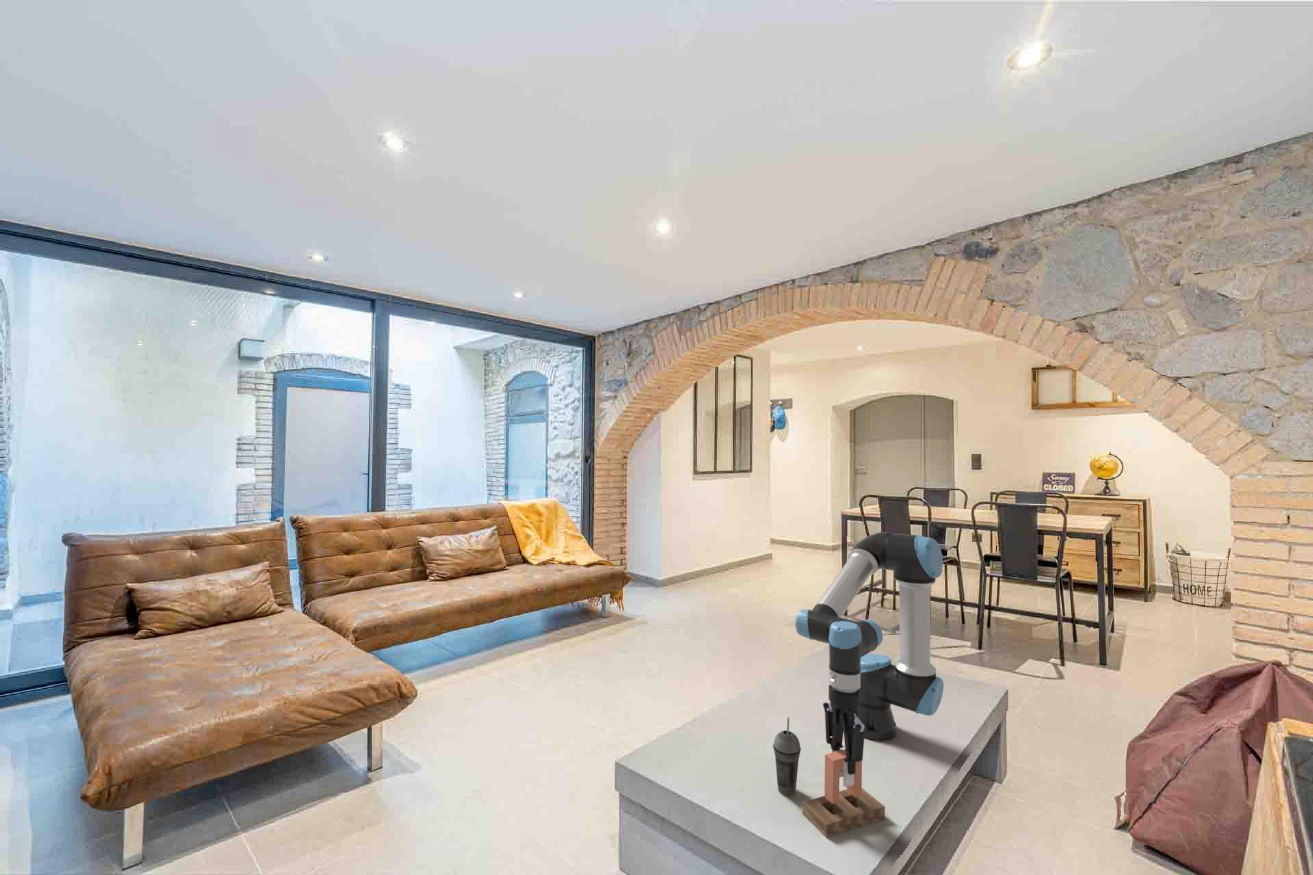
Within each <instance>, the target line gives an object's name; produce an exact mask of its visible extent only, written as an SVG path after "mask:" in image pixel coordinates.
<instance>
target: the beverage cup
mask: <svg viewBox="0 0 1313 875" xmlns="http://www.w3.org/2000/svg"><path fill="white" fill-rule="evenodd" d="M786 723H787V724H786V730H782V731H779V732H778V733H777V734H776V735H775V737H774V739H773V746H772V747H773V752H774V756H775V759H774V760H775V769H776V770H775V771H776V772H775V773H776V784H777V789H778V790H777V791H778V792H779V793H780V794H781V795H783V796H787V797H788V796H793V795H795V794H796V789H797V781H798V769H799V760H800V755H801V750H802V748H801V744H800V740H799V737H797V735H796V733H794V732H792V731H790V717H787V720H786Z"/></svg>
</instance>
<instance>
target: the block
mask: <svg viewBox="0 0 1313 875" xmlns="http://www.w3.org/2000/svg"><path fill="white" fill-rule="evenodd" d="M840 750H841V749H840ZM844 758H846V752H845V749H842V750H841V751H837V752H833V753H832V752H830V753H826V754H824V796H825V798H826V799H827V800H829V801H830V802H831V803H832V804H834V803H838V802H839V791H840V778H839V770H840V769H843V768H844ZM862 769H863V760H862V761H859V762H856V772H855V774H854V785H852V786H848V787H846V789H847V791H848V792H849V793H851V794H852V795H853V796H854V797H859V796H862V788H863V783H862V782H863V781H862V780H863V778H862V777H863V776H862V774H863V773H862V772H863V770H862Z"/></svg>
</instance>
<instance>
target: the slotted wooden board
mask: <svg viewBox="0 0 1313 875" xmlns="http://www.w3.org/2000/svg"><path fill="white" fill-rule="evenodd" d="M802 815H803V816H804V817H805V818H806V819H807V820H808V821H809V822H810V823H811V824H812V825H813V826H814V827H815V828H816V829H817V830H818V831H819V832H820V833H821V834H822V835H823V836H824V837H825V838H829V837H832V836H837V835H838V834H842V833H844V832H848V831H850V830H854V829H858V828H859V827H863V826H867V825H870V824H872V823H876V822H878V821H882V820H884V819H886V806H885V805H884V804H882V803H881V802H880V801H879V800H877V799H876V798H875V797H874V796H873V795H871V794H870V793H869V792H868V791H866V789H863V787H862V796H859V797H854V796H853V795H852V794H851V793H849V792H848V791H847V788H846V789H844V790H839V802H838V803H834V804H832V803H831V802H830V801H829V800H827V799H826V798H825V795H823V796H822V795H821V796H819V797H816V798H812V799H809V800H806V801H802Z"/></svg>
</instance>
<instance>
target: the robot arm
mask: <svg viewBox="0 0 1313 875" xmlns="http://www.w3.org/2000/svg"><path fill="white" fill-rule="evenodd" d="M942 552H943V551H942V549H941V547H940V545H939V543H938V542H937V541H936V540H935V539H934V538H932V537H927V536H921V535H918V534H917V535H916V534H908V533H907V534H906V533H897V532H890V531H889V532H888V531H880V532H876V533H874V534H871V535H868V536H867V537H864V538H863V539H861V540H860V541H859V542H857V543H856V544H855V545H854V546H853V547H852V548H851V549H850V551H849V552H848V554H847V561H846V563H845V564H844V565H843V567H842V568H841V569H840V571H839V572H838V574H837V575H836V576H835V578H834V579H833V581H832V582H831V583H830V585H829V586H828V588H827V589H826V590H825V592H823V594H822V596H820V599H819V600H818V602H817V603H816V604H815V605H814V607H813V608H812V609H808V608H807V609H805V608H804V609H800V610H799V611H798V612H797V615H796V617H795V623H794V626H795V629H796V632H797V634H798V635H799V636H801V637H804V638H806V639H809V640H811V641H817V642H820V643H824V644H828V652H829V653H828V654H829V655H828V660H829V661H828V662H829V664H828V670H829V671H828V683H829V685H828V701H827V702H823V703H822V707H823V710H824V716H825V717H824V719H825V725H824V726H825V741H826V743H827V744H828V745H830V749H831V751H832V752H831V753H833V752H837V751H841V750H843V748H845V749H844V750H845V752H846V758H844V768H843V769H840V770H839V779H840V778H843V779H842V781H843V785H842V786H843V787H844V788H847V787H848V786H852V785H854V774H855V772H856V762H859V761H862V762H863V760H864V759H863V758H864V745H865V744H864V743H865V739H868V740H876V741H886V740H891V739H893V738H894V737H895V736H896V735H897V724H896V721H895V716H894V714H893V711H892V708H891V705H893V706H896V707H898V708H901V709H904V710H908V711H910V712H914V713H915V714H920V715H923V716H928V717H931V716H934V715H935V713H937V711H938V709H939V706H940V705H941V701H942V698H943V694H944V687H945V686H944V681H943V679H942V678H941V677H939V676H937V669H936V667H935V666H934V665H933V664H932V663H931V586H932V585H934V584H935V583H936V579H937V578H940V577H941V575H942V573H943V567H944V563H943V562H944V561H943V560H944V559H943V553H942ZM879 570H889V571H893V579H894V580H895V581H896V582H897V583H898V584H899V585H898V588H899V589H898V590H899V598H898V599H899V600H898V602H899V659H897V660H896V661H895V662H894V664H892V663H893V662H892V660H891V658H890V657H889V656H887V655H884V654H880V653H871V652H874V651H875V650H876V649H877V648H878V647H879V646H880V645H881V644H882V642H883V638H884V635H883V632H882V629H881V627H880V625H879V624H877V623H876V622H875V621H873V620H871V619H863V620H862V619H860V620H859V621H856V620H851V619H849V618H848V619H847V618H843V616H844V614H845V613H846V612H847V610H848V608H849V607H850V605H851V604H852V602H853V601H854V599H855V598H856V596H857V595H858V594H859V592H860V591H861V589H862V587H863V586H864V585H865V583H866V582H867V580H868V579H869V577H870V576H873V575H875V574H876V573H877V571H879ZM843 739H844V745H843Z"/></svg>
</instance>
